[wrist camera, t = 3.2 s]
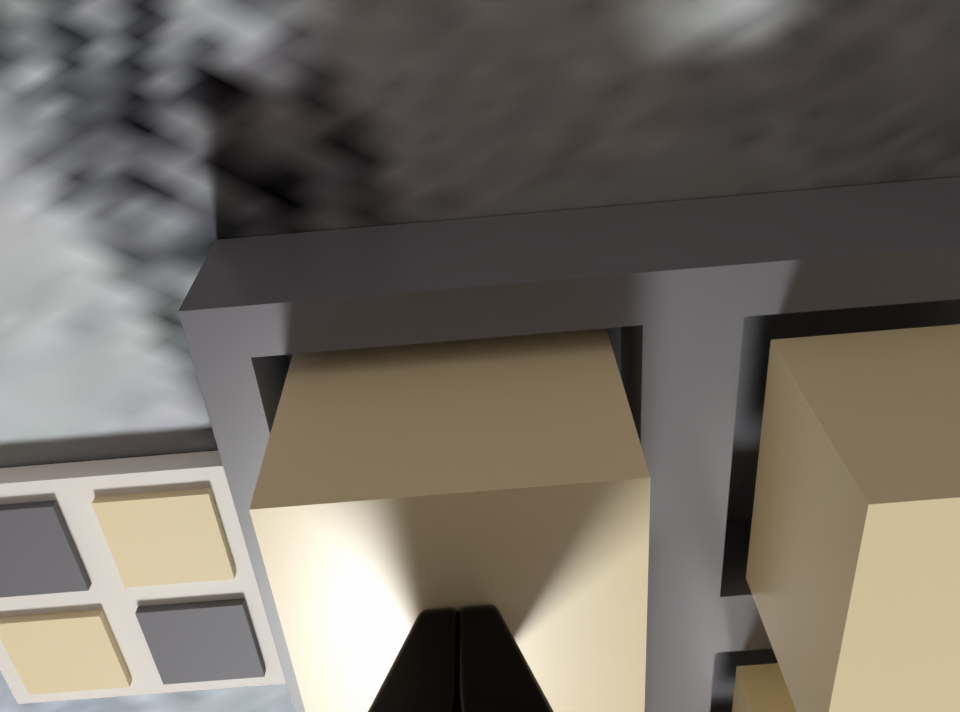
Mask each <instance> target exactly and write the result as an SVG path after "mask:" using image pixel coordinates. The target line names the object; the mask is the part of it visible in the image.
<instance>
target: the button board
mask: <svg viewBox="0 0 960 712" xmlns="http://www.w3.org/2000/svg"><path fill="white" fill-rule="evenodd" d="M178 312H179V316H180V319H181V323H182V326H183V329H184V333H185V336H186V340H187V343H188V347H189V350H190V354H191V357H192V361H193V364H194V367H195V371H196V374H197V378H198V381H199V385H200V388H201V392H202V395H203V399H204V402H205V405H206V409H207V412H208V416H209V419H210V423H211V426H212V430H213V433H214V437H215V440H216V444H217V447H218V450H219V454H220V457H221V461H222V464H223V468H224V471H225V475H226V478H227V482H228V485H229V488H230V492H231V495H232V499H233V502H234V506H235V509H236V513H237V516H238V520H239V523H240V526H241V530H242V533H243V537H244V540H245V544H246V547H247V551H248V554H249V558H250V561H251V564H252V568H253V571H254V575H255V578H256V582H257V585H258V589H259V592H260V596H261V599H262V603H263V606H264V609H265V613H266V616H267V620H268V623H269V627H270V630H271V634H272V637H273V641H274V644H275V647H276V651H277V654H278V658H279V661H280V665H281V668H282V672H283V675H284V679H285V682H286V685H287V689H288V692H289V696H290V699H291V703H292V706H293V710H294V712H305V708H304V705H303V701H302V698H301V694H300V690H299V687H298V683H297V680H296V676H295V672H294V669H293V665H292V662H291V658H290V655H289V651H288V647H287V644H286V640H285V637H284V633H283V629H282V626H281V622H280V619H279V615H278V612H277V608H276V604H275V601H274V597H273V594H272V590H271V586H270V583H269V579H268V576H267V572H266V569H265V565H264V561H263V558H262V554H261V551H260V547H259V543H258V540H257V536H256V533H255V529H254V526H253V522H252V518H251V515H250V511H249V508H250V505H251V501H252V497H253V494H254V490H255V487H256V483H257V480H258V476H259V472H260V469H261V465H262V462H263V458H264V455H265V451H266V447H267V444H268V440H269V437H270V433H271V430H272V426H273V422H274V419H275V415H276V412H277V408H278V405H279V401H280V397H281V394H282V390H283V387H284V383H285V380H286V376H287V372H288V369H289V365H290V362H291V358H292V355H293V354H300V353H312V352H324V351H337V350H349V349H361V348H373V347H385V346H397V345H409V344H421V343H433V342H446V341H458V340H470V339H482V338H494V337H506V336H518V335H530V334H542V333H555V332H567V331H579V330H591V329H603V328H606V329H607V332H608V335H609V339H610V342H611V346H612V349H613V352H614V356H615V359H616V362H617V366H618V369H619V373H620V376H621V379H622V383H623V386H624V389H625V393H626V396H627V400H628V403H629V406H630V410H631V413H632V416H633V420H634V423H635V427H636V430H637V433H638V437H639V440H640V443H641V447H642V450H643V453H644V457H645V460H646V464H647V467H648V470H649V474H650V477H651V484H650V522H649V560H648V598H647V636H646V674H645V712H732V705H733V695H734V686H735V676H736V666H746V665H759V664H772V663H778V661H777V659H776V656H775V653H774V651H773V648H772V646H771V643H770V640H769V638H768V635H767V632H766V630H765V627H764V625H763V622H762V619H761V617H760V614H759V611H758V609H757V606H756V604H755V601H754V598H753V596H752V593H751V590H750V588H749V585H748V582H747V580H746V571H747V562H748V552H749V542H750V533H751V523H752V514H753V504H754V495H755V485H756V476H757V466H758V457H759V447H760V438H761V428H762V418H763V409H764V399H765V390H766V380H767V371H768V361H769V352H770V342H771V340H773V339H785V338H797V337H810V336H822V335H834V334H846V333H858V332H870V331H883V330H895V329H907V328H919V327H931V326H943V325H956V324H960V177H950V178H938V179H927V180H915V181H903V182H891V183H879V184H868V185H856V186H844V187H832V188H820V189H809V190H797V191H785V192H773V193H761V194H750V195H738V196H726V197H714V198H702V199H691V200H679V201H667V202H655V203H643V204H632V205H620V206H608V207H596V208H584V209H573V210H561V211H549V212H537V213H525V214H514V215H502V216H490V217H478V218H466V219H455V220H443V221H431V222H419V223H407V224H396V225H384V226H372V227H360V228H348V229H337V230H325V231H313V232H301V233H289V234H278V235H266V236H254V237H242V238H230V239H219V240H216V241H215V242H214V244H213V246H212V248H211V250H210V252H209V254H208V256H207V258H206V260H205V261H204V263H203V265H202V267H201V269H200V271H199V273H198V275H197V277H196V279H195V281H194V282H193V284H192V286H191V288H190V290H189V292H188V294H187V296H186V298H185V300H184V301H183V303H182V305H181V307H180V309H179V311H178Z"/></svg>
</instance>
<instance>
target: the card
mask: <svg viewBox="0 0 960 712" xmlns="http://www.w3.org/2000/svg"><path fill="white" fill-rule="evenodd" d="M0 671H1V673H2V675H3V677H4V678H5V680H6V682H7V684H8V686H9V688H10V690H11V691H12V693H13V695H14V697H15V699H16V701H17V703H18V704H25V703H38V702H51V701H64V700H77V699H90V698H103V697H116V696H129V695H142V694H155V693H168V692H181V691H194V690H207V689H220V688H233V687H246V686H259V685H272V684H285V683H286V682H285V679H284V675H283V672H282V668H281V665H280V661H279V658H278V654H277V651H276V647H275V644H274V641H273V637H272V634H271V630H270V627H269V623H268V620H267V616H266V613H265V609H264V606H263V603H262V599H261V596H260V592H259V589H258V585H257V582H256V578H255V575H254V571H253V568H252V564H251V561H250V558H249V554H248V551H247V547H246V544H245V540H244V537H243V533H242V530H241V526H240V523H239V520H238V516H237V513H236V509H235V506H234V502H233V499H232V495H231V492H230V488H229V485H228V482H227V478H226V475H225V471H224V468H223V464H222V461H221V457H220V454H219V450H218V451H206V452H193V453H181V454H169V455H156V456H144V457H132V458H119V459H107V460H95V461H82V462H70V463H58V464H45V465H33V466H20V467H8V468H0Z"/></svg>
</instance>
